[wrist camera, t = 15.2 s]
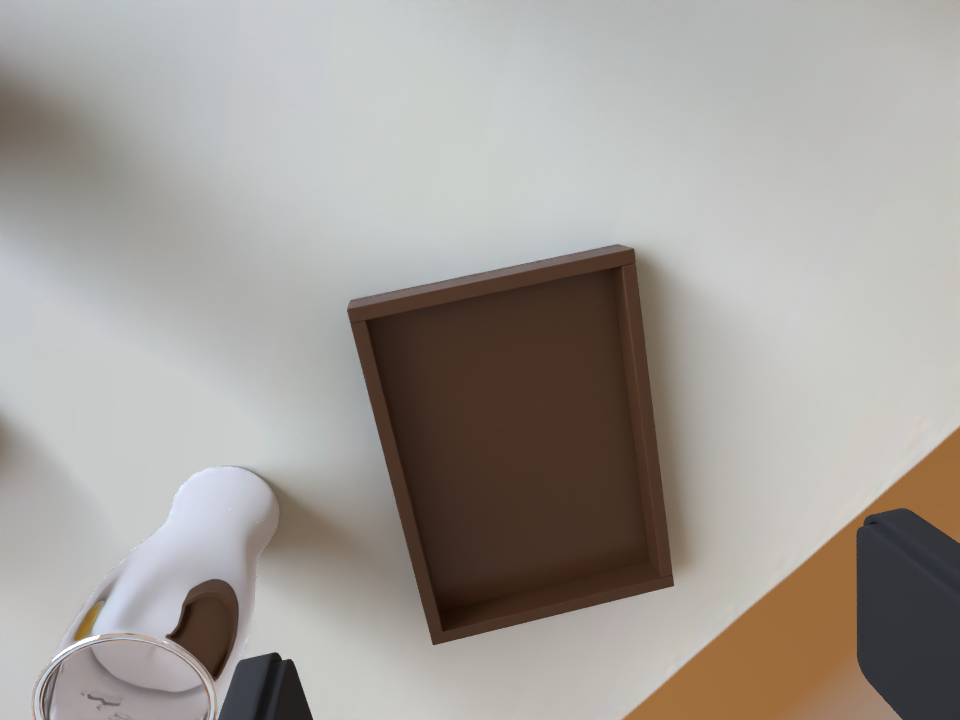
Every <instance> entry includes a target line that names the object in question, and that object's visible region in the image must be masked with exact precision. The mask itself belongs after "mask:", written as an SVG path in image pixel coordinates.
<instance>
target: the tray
mask: <svg viewBox="0 0 960 720" xmlns="http://www.w3.org/2000/svg"><path fill="white" fill-rule="evenodd" d="M347 312H348V316H349V320H350V323H351V328H352V331H353V335H354V339H355V343H356V347H357V351H358V355H359V359H360V363H361V367H362V370H363V374H364V378H365V382H366V386H367V390H368V394H369V398H370V402H371V406H372V410H373V413H374V417H375V421H376V425H377V429H378V433H379V437H380V441H381V445H382V449H383V452H384V456H385V460H386V464H387V468H388V472H389V476H390V480H391V484H392V488H393V491H394V495H395V499H396V503H397V507H398V511H399V515H400V519H401V523H402V527H403V530H404V534H405V538H406V542H407V546H408V550H409V554H410V558H411V562H412V566H413V570H414V573H415V577H416V581H417V585H418V589H419V593H420V597H421V601H422V605H423V609H424V612H425V616H426V620H427V624H428V628H429V632H430V636H431V640H432V644H433V645H436V644H441V643H445V642H449V641H453V640H457V639H461V638H465V637H469V636H473V635H477V634H481V633H485V632H489V631H493V630H497V629H501V628H505V627H509V626H513V625H517V624H522V623H526V622H530V621H534V620H538V619H542V618H546V617H550V616H554V615H558V614H562V613H566V612H570V611H574V610H578V609H582V608H586V607H590V606H594V605H599V604H603V603H607V602H611V601H615V600H619V599H623V598H627V597H631V596H635V595H639V594H643V593H647V592H651V591H655V590H659V589H663V588H667V587H671V586H674V581H673V575H672V566H671V557H670V549H669V541H668V532H667V524H666V515H665V507H664V499H663V490H662V482H661V474H660V465H659V457H658V448H657V440H656V432H655V423H654V415H653V407H652V398H651V390H650V381H649V373H648V365H647V356H646V348H645V339H644V331H643V323H642V314H641V306H640V298H639V289H638V281H637V272H636V264H635V254H634V249H633V248H629V247H626V246H622V245H619V244H616V245H612V246H607V247H602V248H597V249H593V250H588V251H583V252H578V253H574V254H569V255H564V256H559V257H555V258H550V259H545V260H540V261H536V262H531V263H526V264H521V265H516V266H512V267H507V268H502V269H497V270H493V271H488V272H483V273H478V274H474V275H469V276H464V277H459V278H455V279H450V280H445V281H440V282H436V283H431V284H426V285H421V286H417V287H412V288H407V289H402V290H398V291H393V292H388V293H383V294H379V295H374V296H369V297H364V298H359V299H355V300H351V301H350V303H349V306H348V308H347Z"/></svg>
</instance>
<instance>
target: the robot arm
mask: <svg viewBox="0 0 960 720" xmlns="http://www.w3.org/2000/svg"><path fill="white" fill-rule="evenodd" d="M857 658H858V663H859V666H860V668H861V671H862V673H863V674H864V676H865V678H866V679H867V680H868V682H869V683H870V684H871V685H872V686H873V687H874V688H875V689H876V691H877V692H878V693H879V694H880V695H881V696H882V697H883V698H884V700H885V701H886V702H887V703H888V704H889V705H890V706H891V707H892V708H893V710H894V711H896V713H897V714H898V715H899V716H900V717H901V718H902V719H903V720H960V544H959V543H958V542H956V541H955V540H953V539H952V538H950V537H949V536H948V535H946V534H945V533H943V532H941V531H940V530H939V529H937V528H936V527H934V526H933V525H931V524H930V523H928V522H927V521H925V520H924V519H922V518H921V517H920V516H918V515H917V514H915V513H914V512H912V511H910V510H908V509H905V508H899V509H895V510H891V511H886V512H882V513H878V514H873V515H870V516H868V517H866V519H865V521H864V526H863V527H860V528H859V529H858V531H857ZM218 720H313V718H312V715H311V712H310V709H309V706H308V703H307V700H306V697H305V694H304V691H303V688H302V685H301V682H300V679H299V676H298V673H297V670H296V667H295V665H294V663H293V661H292V660H291V659H288V660H283V661H282V659H281V656H280V655H279V654H278V653H275V652H274V653H270V654H266V655H261V656H257V657H253V658H248V659H244V660H241V661H239V662H238V664H237V666H236V668H235V671H234V674H233V677H232V680H231V683H230V686H229V688H228V691H227V694H226V697H225V700H224V703H223V706H222V709H221V712H220V715H219V718H218Z"/></svg>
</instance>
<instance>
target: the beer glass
mask: <svg viewBox="0 0 960 720" xmlns="http://www.w3.org/2000/svg"><path fill="white" fill-rule="evenodd" d="M278 523H279V505H278V501H277V498H276V496H275V494H274V492H273V490H272V489H271V488H270V486H269V485H268V484H267V483H266V482H265V481H264V480H263V479H262V478H260V477H259V476H258V475H256V474H254V473H252V472H250V471H248V470H246V469H243V468H239V467H233V466H216V467H211V468H207V469H204V470H202V471H200V472H198V473H196V474H194V475H193V476H191V477H190V478H189V479H187V480H186V481H185V482H184V483H183V484H182V486H181V487H180V488H179V490H178V492H177V493H176V495H175V498H174V500H173V503H172V506H171V510H170V513H169V516H168V519H167V520H166V521H165V523H164V524H163V525H162V526H160V527H159V528H158V529H157V530H156V531H155V532H154V533H152V534H151V535H150V536H149V537H147V538H146V539H145V540H144V541H143V542H141V543H140V544H139V545H138V546H137V547H136V548H134V549H133V550H132V551H131V552H130V553H128V554H127V555H126V556H125V557H124V558H123V559H122V560H121V561H120V562H119V563H118V564H117V565H116V566H115V567H114V568H113V569H112V570H111V571H110V572H109V573H108V574H107V575H106V576H105V578H104V579H103V580H102V581H101V583H100V584H99V585H98V586H97V588H96V589H95V590H94V591H93V593H92V594H91V595H90V596H89V598H88V599H87V601H86V602H85V604H84V605H83V607H82V608H81V609H80V611H79V612H78V614H77V615H76V617H75V618H74V620H73V622H72V623H71V625H70V626H69V628H68V630H67V631H66V633H65V635H64V636H63V638H62V640H61V641H60V643H59V645H58V647H57V649H56V650H55V652H54V654H53V656H52V657H51V659H50V661H49V662H48V663H47V665H46V666H45V667H44V669H43V670H42V671H41V673H40V675H39V677H38V679H37V681H36V683H35V686H34V690H33V695H32V712H33V717H34V720H216V717H217V715H218V713H219V711H220V708H221V706H222V704H223V702H224V700H225V697H226V694H227V691H228V688H229V686H230V683H231V680H232V677H233V674H234V671H235V668H236V666H237V664H238V662H239V661H241V659H242V656H243V654H244V651H245V647H246V644H247V640H248V637H249V633H250V629H251V625H252V619H253V612H254V605H255V595H256V579H257V564H258V558H259V555H260V553H261V552H262V551H263V549H264V548H265V547H266V546H267V544H268V543H269V542H270V540H271V539H272V537H273V535H274V533H275V531H276V529H277V526H278Z"/></svg>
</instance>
